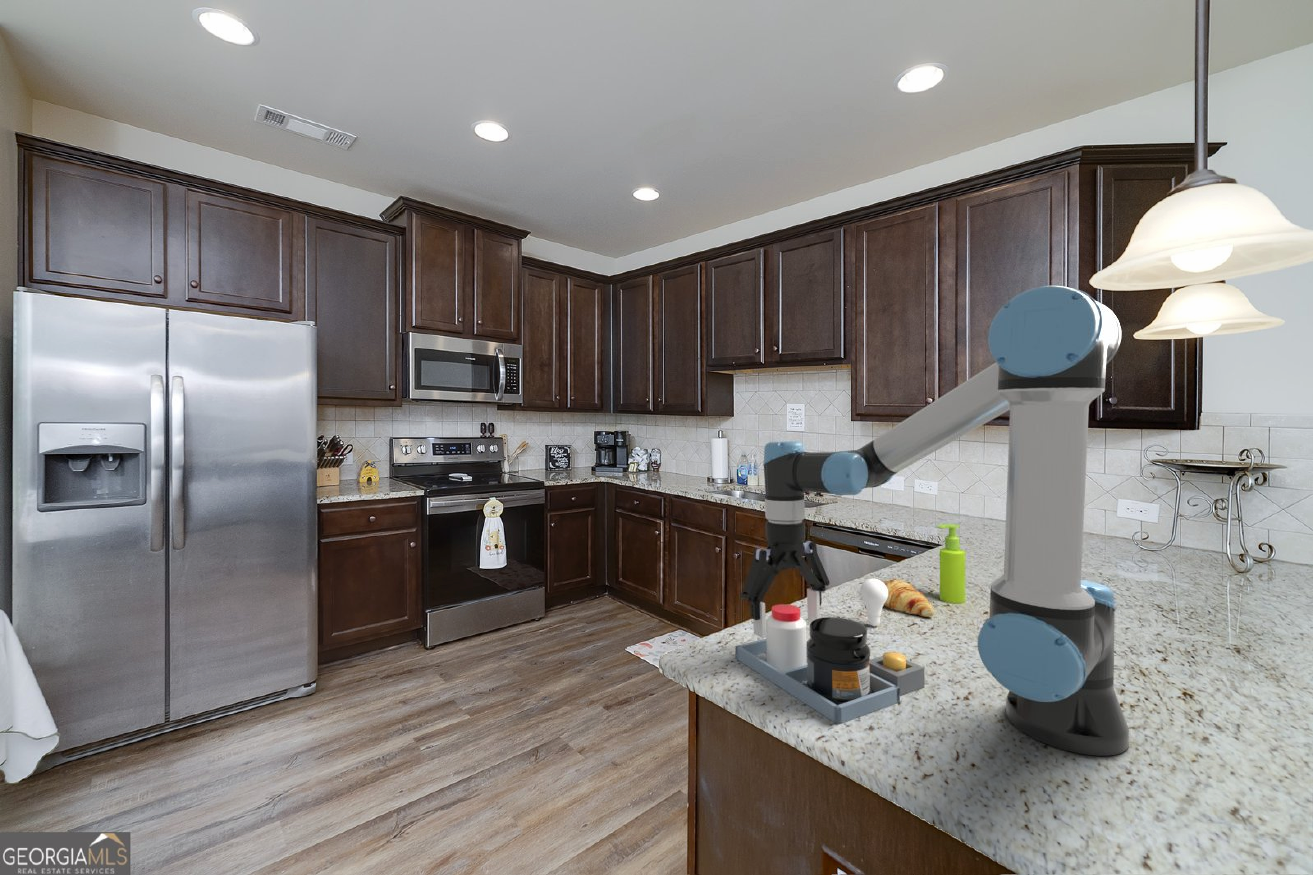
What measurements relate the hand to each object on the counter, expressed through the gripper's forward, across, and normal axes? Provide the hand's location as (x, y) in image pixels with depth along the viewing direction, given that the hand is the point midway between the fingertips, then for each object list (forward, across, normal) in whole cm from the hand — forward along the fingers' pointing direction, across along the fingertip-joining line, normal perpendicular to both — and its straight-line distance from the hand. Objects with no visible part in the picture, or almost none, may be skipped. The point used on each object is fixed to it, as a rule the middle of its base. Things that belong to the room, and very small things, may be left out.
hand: (787, 629), depth 106 cm
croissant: (+7, -47, -12) cm, 49 cm away
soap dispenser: (+7, -63, -9) cm, 64 cm away
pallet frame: (+7, 0, +6) cm, 10 cm away
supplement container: (+8, 0, +13) cm, 15 cm away
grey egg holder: (+7, -12, +15) cm, 20 cm away
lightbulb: (+7, -31, -6) cm, 32 cm away
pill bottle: (+7, 0, -1) cm, 7 cm away
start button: (+6, -12, +15) cm, 20 cm away
